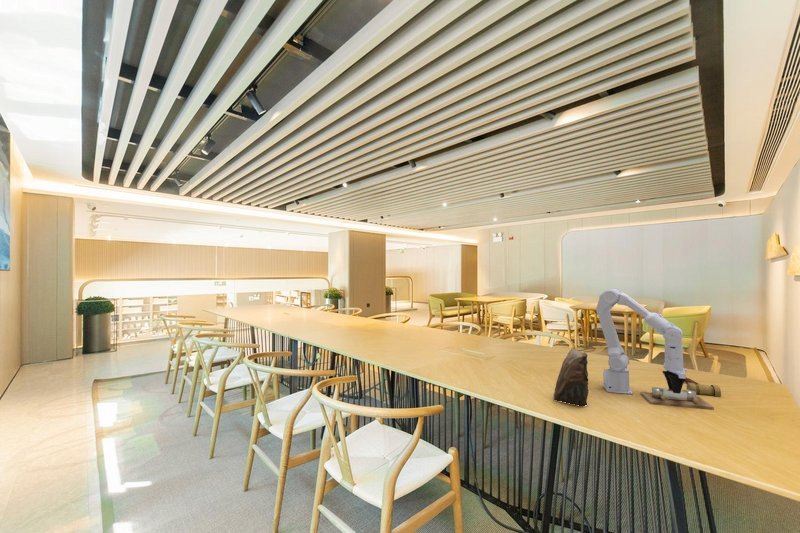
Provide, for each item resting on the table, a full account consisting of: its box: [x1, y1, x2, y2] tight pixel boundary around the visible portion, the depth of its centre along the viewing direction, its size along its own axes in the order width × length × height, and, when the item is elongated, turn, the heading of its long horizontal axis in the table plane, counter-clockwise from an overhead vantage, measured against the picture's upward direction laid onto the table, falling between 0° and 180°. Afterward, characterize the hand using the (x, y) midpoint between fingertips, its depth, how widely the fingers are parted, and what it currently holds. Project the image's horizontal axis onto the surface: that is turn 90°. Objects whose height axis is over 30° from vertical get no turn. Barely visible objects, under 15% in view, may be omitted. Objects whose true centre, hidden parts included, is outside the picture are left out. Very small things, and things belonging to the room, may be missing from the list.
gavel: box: [684, 377, 722, 398], centre depth 150 cm, size 21×5×10 cm
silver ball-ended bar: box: [651, 386, 697, 402], centre depth 135 cm, size 14×4×3 cm, turn 72°
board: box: [639, 391, 715, 411], centre depth 135 cm, size 20×11×3 cm, turn 72°
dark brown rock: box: [553, 347, 589, 407], centre depth 137 cm, size 13×13×20 cm
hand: (674, 391), depth 135 cm, fingers closed on silver ball-ended bar, 3 cm apart
